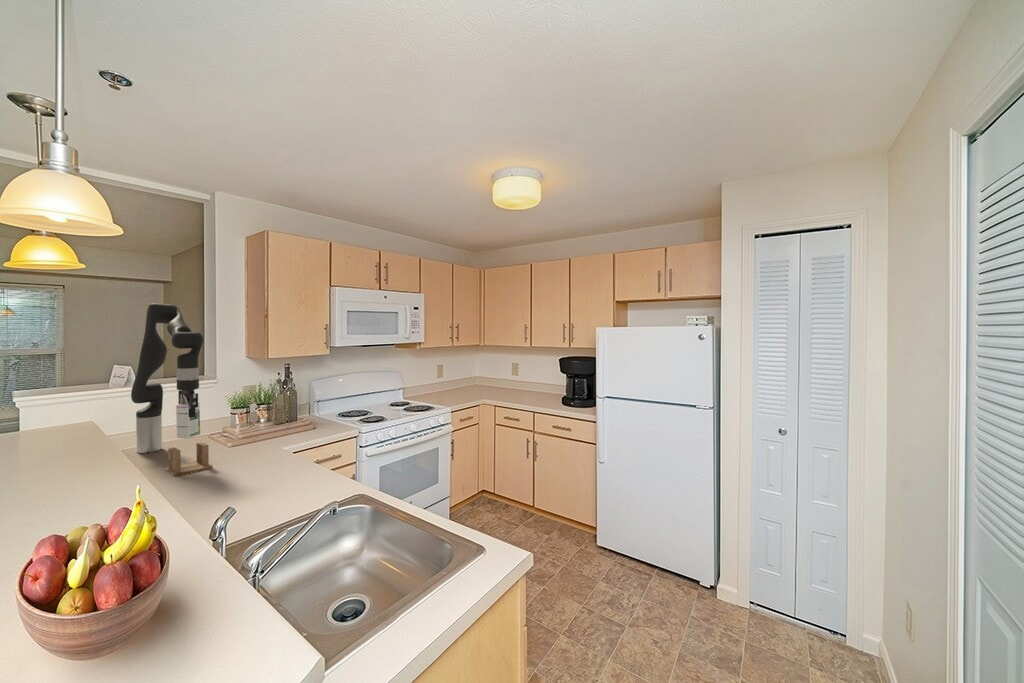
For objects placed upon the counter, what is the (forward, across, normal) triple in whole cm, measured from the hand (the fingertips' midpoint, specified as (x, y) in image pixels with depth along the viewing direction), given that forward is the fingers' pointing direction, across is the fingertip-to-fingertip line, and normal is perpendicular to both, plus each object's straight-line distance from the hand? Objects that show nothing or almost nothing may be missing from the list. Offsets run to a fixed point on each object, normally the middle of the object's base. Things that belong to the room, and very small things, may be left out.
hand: (188, 415), depth 172 cm
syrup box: (+9, 0, 0) cm, 9 cm away
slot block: (+23, 0, 0) cm, 23 cm away
